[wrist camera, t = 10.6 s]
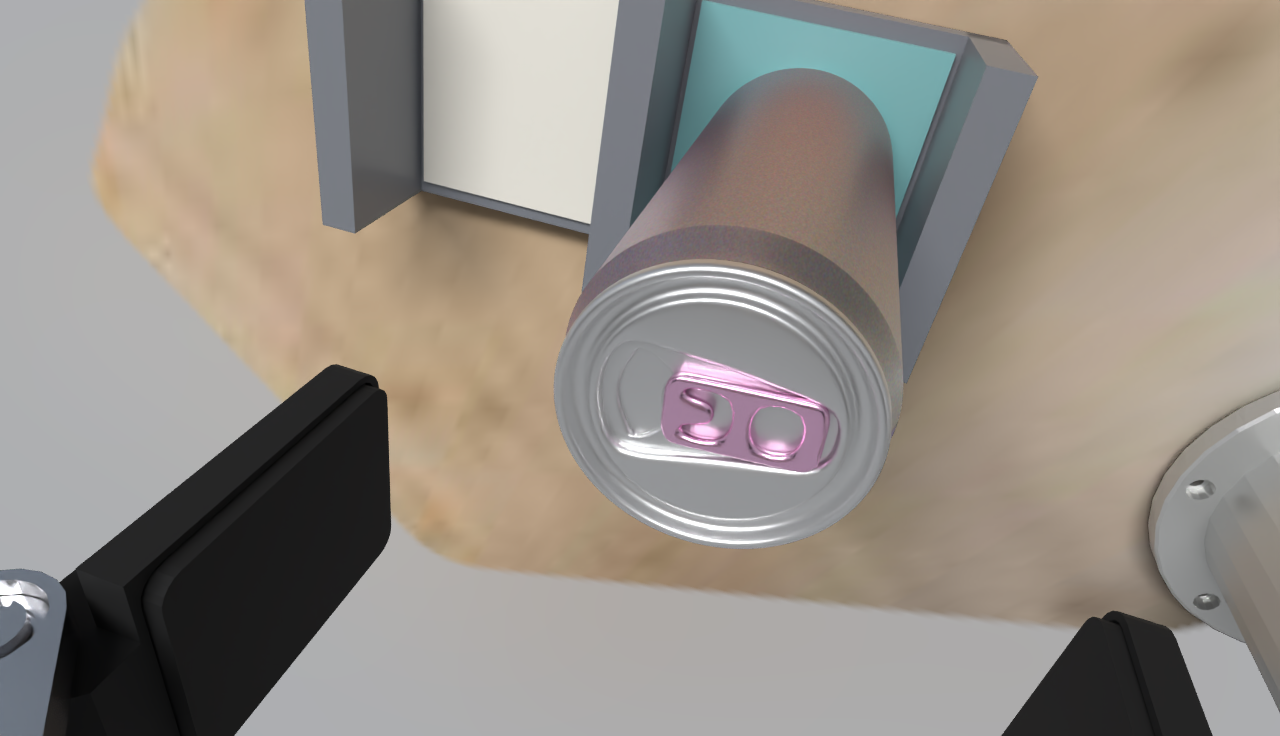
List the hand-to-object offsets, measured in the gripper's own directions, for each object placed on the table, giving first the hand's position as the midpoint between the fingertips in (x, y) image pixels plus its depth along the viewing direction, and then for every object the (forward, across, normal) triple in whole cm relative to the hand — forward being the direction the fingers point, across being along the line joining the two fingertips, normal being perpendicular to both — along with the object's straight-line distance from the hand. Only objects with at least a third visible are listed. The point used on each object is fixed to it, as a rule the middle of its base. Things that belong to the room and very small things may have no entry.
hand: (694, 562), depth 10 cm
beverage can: (+18, +1, 0) cm, 18 cm away
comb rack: (+19, +6, 0) cm, 20 cm away
